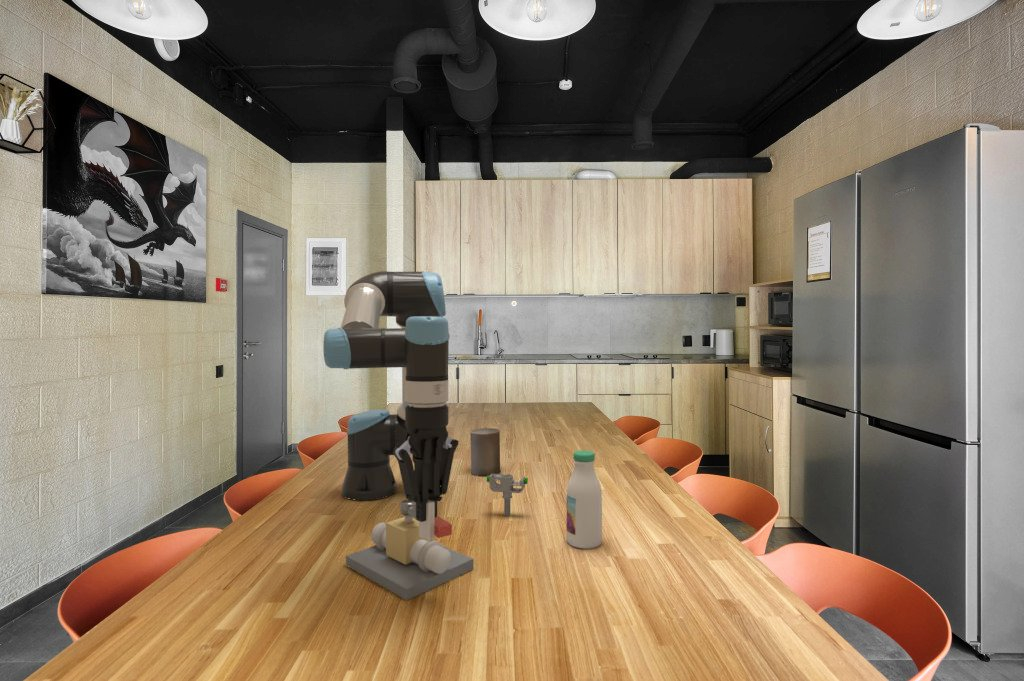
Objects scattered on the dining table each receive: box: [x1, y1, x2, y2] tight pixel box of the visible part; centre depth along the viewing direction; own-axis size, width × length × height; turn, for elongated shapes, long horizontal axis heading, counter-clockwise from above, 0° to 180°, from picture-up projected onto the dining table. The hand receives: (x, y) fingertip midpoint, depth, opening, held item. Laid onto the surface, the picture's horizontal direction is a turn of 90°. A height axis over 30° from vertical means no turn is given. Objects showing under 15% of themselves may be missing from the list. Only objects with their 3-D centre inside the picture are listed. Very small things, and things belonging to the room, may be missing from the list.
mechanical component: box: [486, 473, 529, 517], centre depth 133 cm, size 3×10×10 cm, turn 79°
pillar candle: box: [469, 426, 501, 477], centre depth 172 cm, size 10×10×15 cm
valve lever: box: [399, 499, 453, 539], centre depth 99 cm, size 17×3×2 cm, turn 36°
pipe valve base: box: [345, 515, 475, 601], centre depth 105 cm, size 20×16×11 cm
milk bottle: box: [566, 449, 603, 550], centre depth 116 cm, size 8×8×20 cm
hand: (426, 537), depth 93 cm, fingers closed
